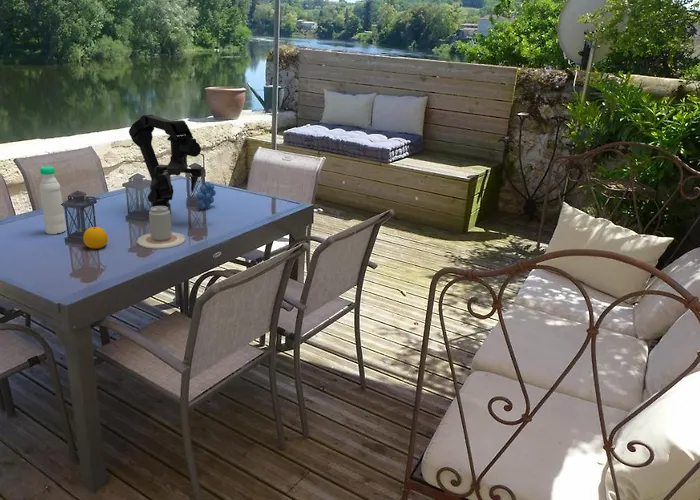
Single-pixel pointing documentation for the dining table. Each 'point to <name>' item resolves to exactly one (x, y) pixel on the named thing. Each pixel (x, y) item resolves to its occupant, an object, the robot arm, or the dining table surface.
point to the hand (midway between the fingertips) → (181, 191)
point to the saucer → (152, 244)
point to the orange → (95, 237)
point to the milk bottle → (51, 202)
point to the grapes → (205, 196)
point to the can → (160, 223)
